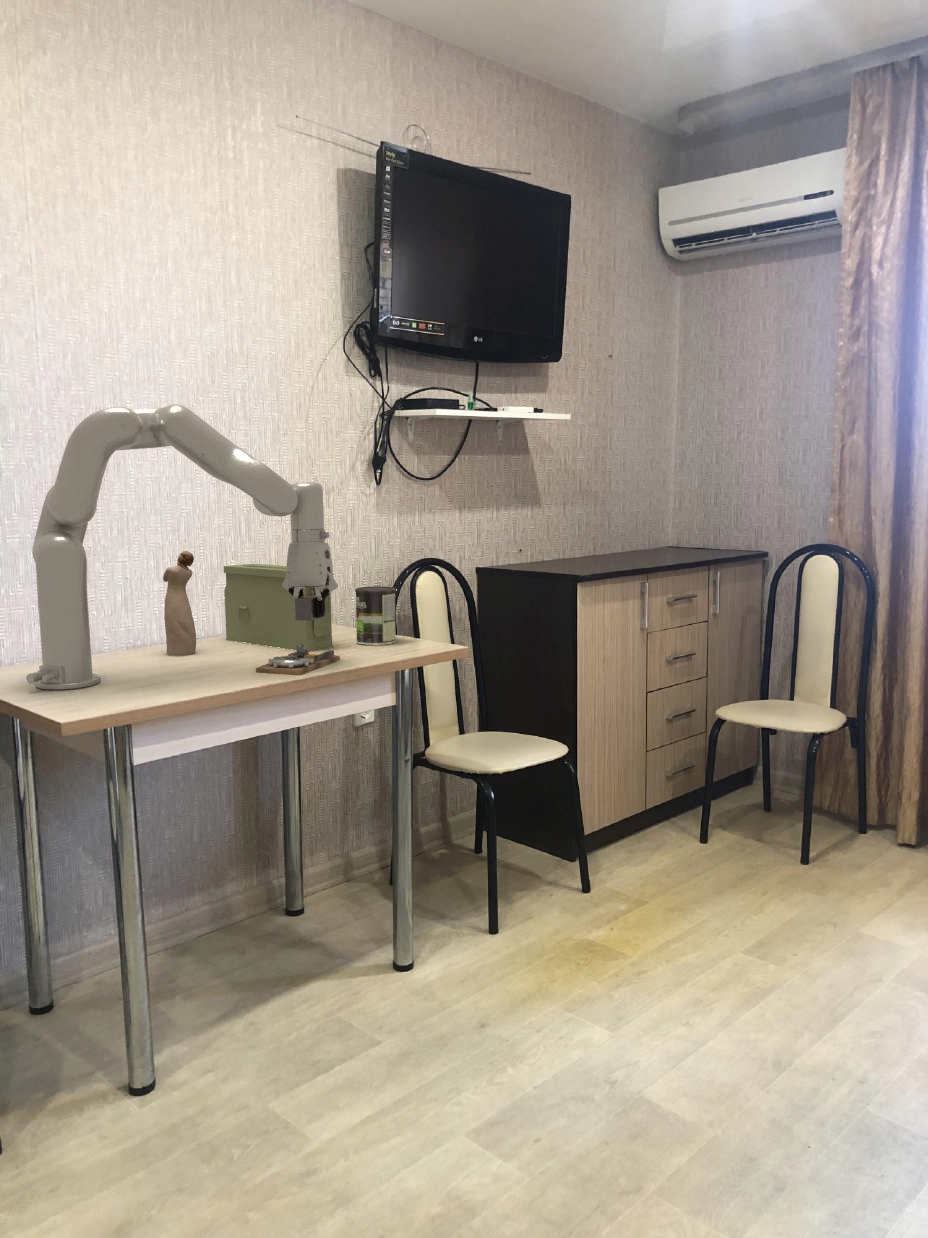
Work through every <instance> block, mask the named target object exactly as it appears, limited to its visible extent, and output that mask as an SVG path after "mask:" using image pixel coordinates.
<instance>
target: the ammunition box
mask: <svg viewBox="0 0 928 1238" xmlns="http://www.w3.org/2000/svg"><path fill="white" fill-rule="evenodd" d="M223 573H224V574H225V587H224V589H223V592H224V593H223V594H224V595H223V596H224V612H225V613H224V614H225V615H224V616H225V617H224V618H225V636H226V637H225V639H224V640H225V641H228V642H235V641H237V642H236V643H242V642H246V643H245V644H249V643H251V645H256V644H259V645H258V646H263V645H267V646H266V647H270V646H272V648H277V647H280V649H283V648H285V650H290V649H294V650H293V651H297V645H300V644H302V645H304V649H308V653H310V651H312V652H314V651H313V650H317V651H320V650H319V649H322V650H326V649H325V648H327V649H329V648H328V647H332V648H334V647H335V646H334V645H333V631H332V630H333V627H332V598H331V596H332V595H331V594H332V592H331V593H330V594H329V595H328V596H327V598H326V599H325V611H326V617H322V618H319V619H316V620H312V621H306V620H296V613H295V600H294V598H293V596H292V595H291V594H290V593H289V591H287V590H286V589H285V588H283V587H282V583H283V581H284V580H285V578H286V576H287V565H278V564H277V565H276V564H265V563H264V564H263V563H261V564H260V563H245V564H244V563H243V564H234V565H225V566H224V565H223ZM328 586H329V585H325V589H326V588H327V587H328ZM293 587H295V586H293ZM307 595H316V592H315V587H305V589H304V596H307Z"/></svg>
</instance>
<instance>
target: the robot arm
mask: <svg viewBox="0 0 928 1238" xmlns="http://www.w3.org/2000/svg"><path fill="white" fill-rule="evenodd" d="M164 447H165V448H166V447H173V448H174V449H175V450H176V451H177V452H179V453H181V454H182V455H184V457H186V458H187V459H188V460H190V461H191V462H193V463H194V464H195V465H197V466H198V467H199V468H200V469H202V471H205V472H206V473H207V474H208V475H210V476H212V478H214V479H217V480H219V481H222V482H225V483H227V484H229V485H231V486H234V487H236V488H237V489H239V490H240V491H242V492H244V493H245V494H246V495H248V496H249V497H251V498H252V502H253V506H254V508H255V509H256V510H257V511H258V512H259V513H260V514H262V515H265V516H271V517H287V516H289V515H290V517H289V518H290V535H291V537H290V539H291V540H290V541H291V543H289V544H288V548H287V556H286V566H287V576H286V578H285V580H284V581H283V583H282V587H283V588H285V589H286V590H287V591H289V593H290V594H291V595H292V596H293V598H294V600H295V598H298V597H301V596H304V589H305V587H315V592H316V597H317V600H316V601H315V616H316V618H320V617H323V616H324V613H325V599H326V598H327V596H328V595H329V594H330V593H331V594H332V592H333V591H335V590H336V589H338V587H339V585H338V583H337V582H336V580H335V578H334V569H333V568H334V567H333V566H334V565H333V559H332V553H331V548H330V544H329V542H326V539H329V538H330V532H328V531H326V529H325V514H324V513H325V512H324V510H325V509H324V489H323V486H322V485H321V484H320V483H318V482H295V483H294V482H293V484H291V483H289V482H288V481H287V480H285V478H283V477H282V476H281V475H279V474H278V473H277V472H275V471H274V470H273V469H271V468H270V467H269V466H268V465H266V464H264V463H263V462H262V461H261V460H258V458H255V457H254V456H252V455H251V454H250V453H248V452H247V451H246V450H244V449H243V448H241V447H239V446H237V444H236V443H234V442H232V441H231V440H229V439H228V438H227V437H226V436H224V435H223V434H222V433H220V432H219V431H218V430H217V429H215V427H212V426H211V425H210V424H209V423H207V422H206V420H204V419H203V418H201V417H200V416H199V415H197V414H196V413H195V412H193V411H192V410H191V409H189V408H188V407H187V406H184V405H181V404H170V405H166V406H164V407H158V408H157V407H156V408H155V407H154V408H144V409H132V408H129V407H125V406H114V407H108V408H102V409H99V410H98V411H95V412H93V413H91V414H89V415H88V416H87V417H85V418H84V419H83V420H81V422H79V424H78V425H76V427H74V430H73V431H72V432H71V434H70V436H69V438H68V440H67V443H66V445H65V448H64V451H63V455H62V458H61V461H60V464H59V468H58V472H57V475H56V479H55V483H54V485H53V486H51V488H50V489H49V490H48V492H47V493H46V495H45V498H44V501H43V505H42V509H41V512H40V516H39V520H38V524H37V528H36V531H35V537H34V541H33V546H32V558H33V561H34V564H35V573H36V589H37V590H36V591H37V592H36V593H37V605H38V606H37V608H38V618H39V619H38V620H39V621H38V622H39V630H40V632H39V633H40V635H39V636H40V646H41V649H40V650H41V662H42V665H39V667H38V668H39V669H38V671H36V672H32V673H28V674H27V675H26V678H25V679H26V682H27V683H29V684H33V683H35V687H36V688H38V689H42V690H52V691H53V690H54V691H55V690H56V691H57V690H73V689H81V688H86V687H91V686H94V685H98V684H99V683H100V682H101V675H99V674H97V673H93V662H92V645H91V644H92V643H91V631H90V630H91V629H90V616H89V615H90V614H89V612H90V611H89V602H88V559H87V553H86V549H85V547H84V545H83V544H84V540H85V537H86V532H87V530H88V529H87V528H88V524H89V523H90V521H91V520H92V519H93V518H94V516H95V514H96V511H97V505H98V501H99V500H98V499H99V495H100V490H101V487H102V483H103V482H102V481H103V478H104V477H105V476H104V475H105V473H106V469H107V464H108V462H109V460H110V458H111V457H112V455H113V454H114V453H115V452H116V451H127V450H128V451H129V450H143V449H156V448H164ZM325 585H329V586H328V587H327V588H326V589H325ZM293 586H295V587H293Z"/></svg>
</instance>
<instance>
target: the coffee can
mask: <svg viewBox="0 0 928 1238" xmlns="http://www.w3.org/2000/svg"><path fill="white" fill-rule="evenodd" d="M354 592H355V614H356V615H355V617H356V618H355V619H356V620H355V621H356V624H355V625H356V626H355V627H356V642H357V643H358V644H357V643H356V644H357V645H360V644H366V645H365V646H369V645H381V646H384V645H383V644H390V645H393V644H392V643H394V644H396V643H397V642H396V588H395V587H392V586H363V587H362V586H361V587H357V588H355V589H354Z"/></svg>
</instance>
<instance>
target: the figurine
mask: <svg viewBox="0 0 928 1238" xmlns="http://www.w3.org/2000/svg"><path fill="white" fill-rule="evenodd" d="M178 555H179V556H178V558H177V563H176V565H174V566H169V567H166V569H165V571H164V572H163V576H162V577H163V578H162V581H163V582H165V583H167V589H166V594H165V597H164V617H163V618H164V619H163V620H164V626H165V627H164V628H165V639H166V655H167V654H168V656H170V655H175V656H174V657H180V656H179V655H183V656H191V655H195V654H196V649H197V632H196V631H197V630H196V627H195V620H194V618H193V611H192V608H191V605H190V601H189V598H188V594H187V584H188V582H189V580H190V579H191V577H193V576H192V575H193V570H192V569H190V568H189V567H191V566H192V565H193V563H194V561H195V560H194V559H195V557H194V555H193V553H192V552H190V551H189V550H182V551H181V553H180V554H178ZM190 654H191V655H190Z"/></svg>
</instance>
